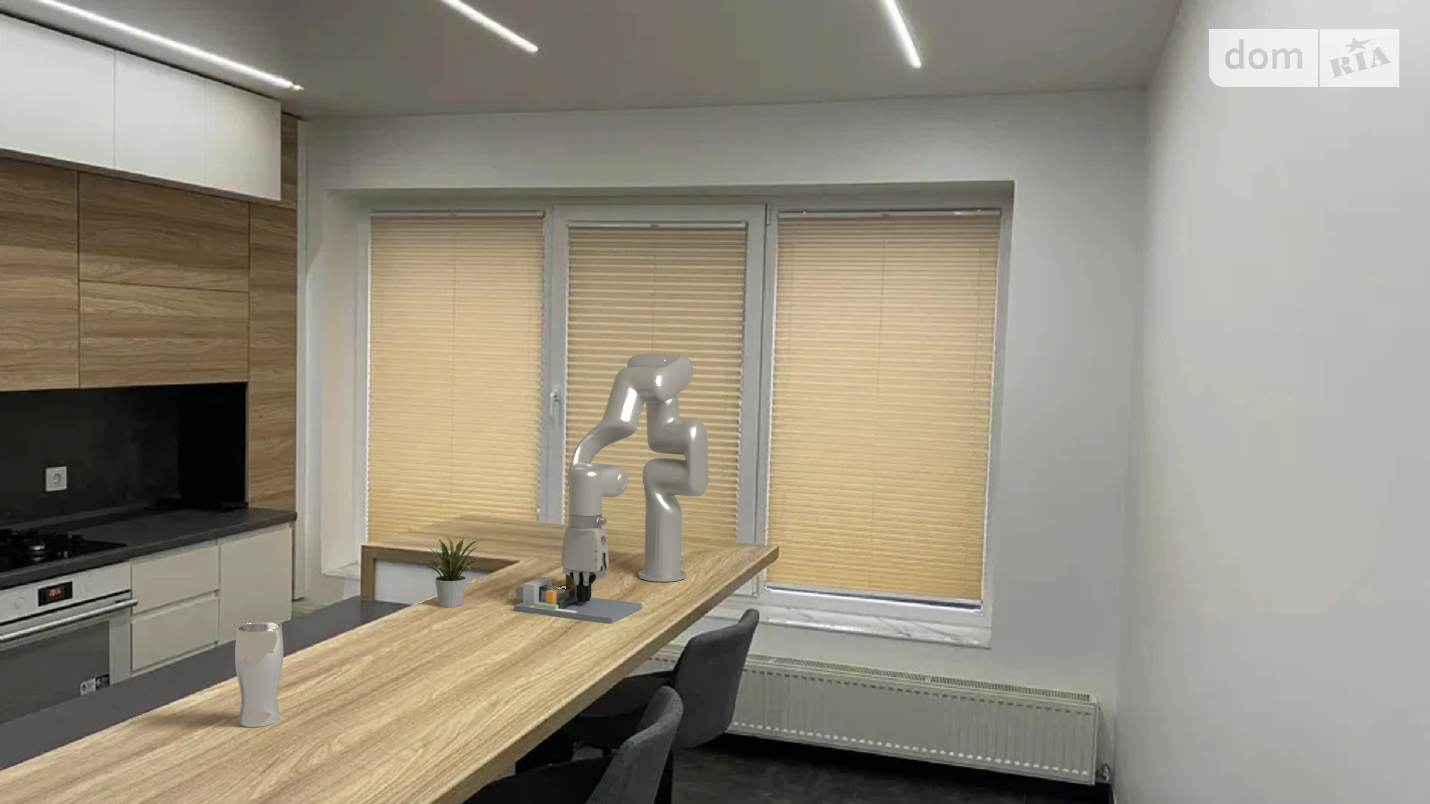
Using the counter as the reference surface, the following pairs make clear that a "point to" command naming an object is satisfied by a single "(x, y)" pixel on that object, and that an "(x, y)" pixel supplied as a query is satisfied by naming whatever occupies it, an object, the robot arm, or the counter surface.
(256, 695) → the beer glass
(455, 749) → the counter surface
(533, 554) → the counter surface
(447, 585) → the house plant
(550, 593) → the orange block
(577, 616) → the board
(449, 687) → the counter surface
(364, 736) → the counter surface
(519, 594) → the plunger
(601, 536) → the robot arm
